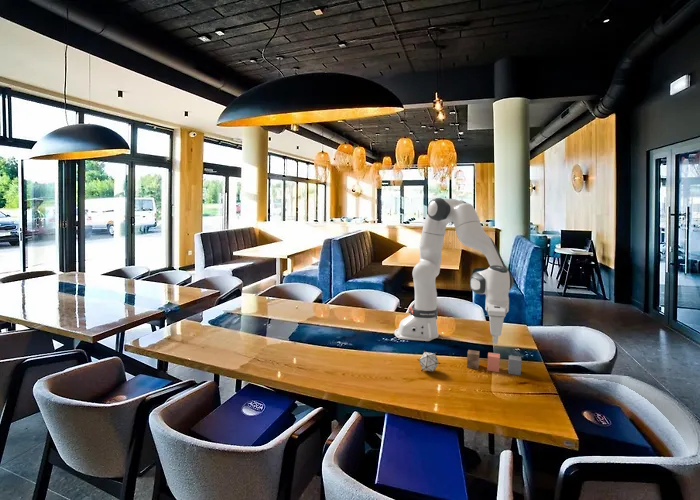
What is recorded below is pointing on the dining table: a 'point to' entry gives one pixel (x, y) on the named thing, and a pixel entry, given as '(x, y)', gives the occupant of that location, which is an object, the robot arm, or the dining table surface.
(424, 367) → the game die
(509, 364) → the grey block
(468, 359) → the walnut block
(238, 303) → the dining table surface
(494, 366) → the red block
